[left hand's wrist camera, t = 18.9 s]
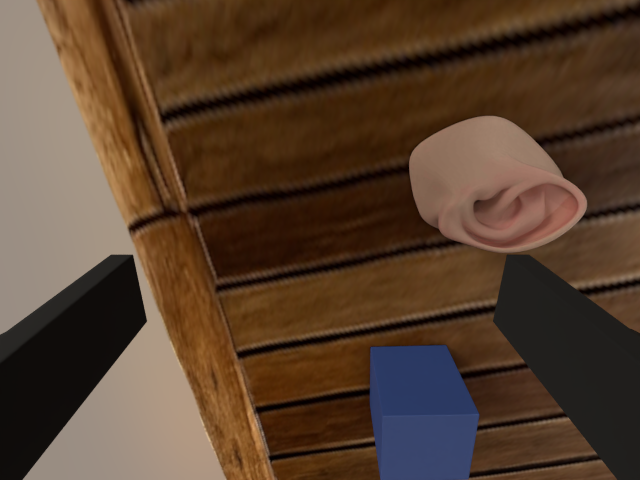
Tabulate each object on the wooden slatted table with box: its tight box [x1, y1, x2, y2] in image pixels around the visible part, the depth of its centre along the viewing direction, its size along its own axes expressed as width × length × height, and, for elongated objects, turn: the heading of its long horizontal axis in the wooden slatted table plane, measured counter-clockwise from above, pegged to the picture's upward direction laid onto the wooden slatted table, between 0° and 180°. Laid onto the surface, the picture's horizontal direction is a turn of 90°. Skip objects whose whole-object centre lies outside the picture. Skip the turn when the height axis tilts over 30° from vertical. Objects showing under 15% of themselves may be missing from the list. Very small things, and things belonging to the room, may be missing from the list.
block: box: [370, 345, 479, 480], centre depth 36 cm, size 8×8×9 cm
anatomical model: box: [409, 116, 587, 253], centre depth 30 cm, size 13×4×12 cm
